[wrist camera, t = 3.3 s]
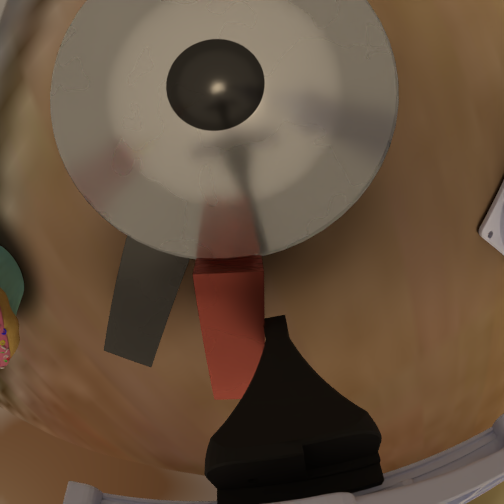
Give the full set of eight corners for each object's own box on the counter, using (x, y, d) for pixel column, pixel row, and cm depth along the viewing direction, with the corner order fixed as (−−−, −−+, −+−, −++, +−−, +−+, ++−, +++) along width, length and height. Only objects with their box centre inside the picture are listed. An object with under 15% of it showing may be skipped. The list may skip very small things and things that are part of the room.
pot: (415, 0, 10) (459, -16, 7) (240, 344, 19) (242, 394, 16) (188, -92, 7) (177, -132, 4) (52, 276, 16) (21, 315, 13)
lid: (77, -87, 4) (59, -103, 3) (360, -107, 5) (375, -126, 3) (132, 379, 15) (125, 405, 13) (347, 370, 15) (356, 396, 13)
